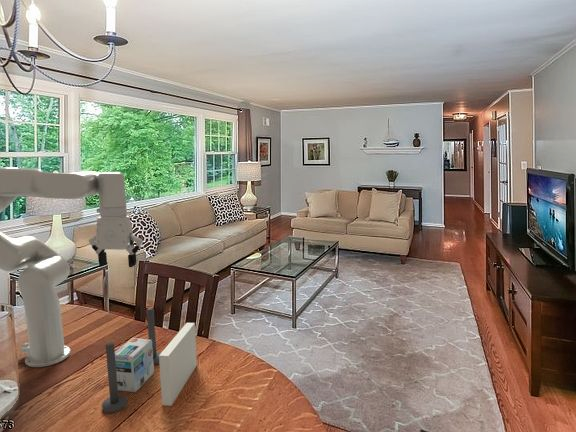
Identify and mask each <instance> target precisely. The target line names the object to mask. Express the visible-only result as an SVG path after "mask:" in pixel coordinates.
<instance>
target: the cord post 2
mask: <svg viewBox="0 0 576 432" xmlns="http://www.w3.org/2000/svg"><path fill="white" fill-rule="evenodd" d="M146 316H147V332H148V334H147V335H148V339H149V340H152V348H153V364H154V366H156V365H160V363H159V355H160V354H161V353H162V352H158V351H157V342H156V341H157V340H156V339H157V338H156V328H155V327H156V324H155V310H154V308H153V307H151V308H150V307H149V308H147V309H146Z"/></svg>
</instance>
